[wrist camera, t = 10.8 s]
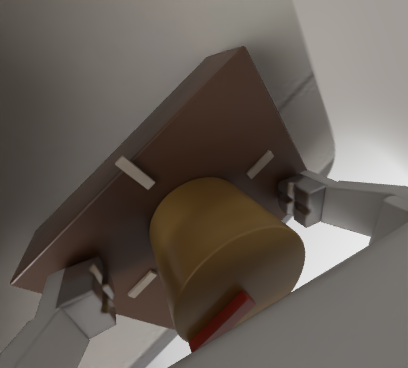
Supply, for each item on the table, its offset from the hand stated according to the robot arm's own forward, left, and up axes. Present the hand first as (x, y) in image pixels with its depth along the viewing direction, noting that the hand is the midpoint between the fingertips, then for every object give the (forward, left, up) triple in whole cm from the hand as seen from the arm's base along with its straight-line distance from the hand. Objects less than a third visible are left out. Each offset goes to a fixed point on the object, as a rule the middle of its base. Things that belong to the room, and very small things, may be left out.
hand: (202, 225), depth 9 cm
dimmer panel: (0, 0, -3) cm, 3 cm away
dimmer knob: (0, 0, 0) cm, 0 cm away
